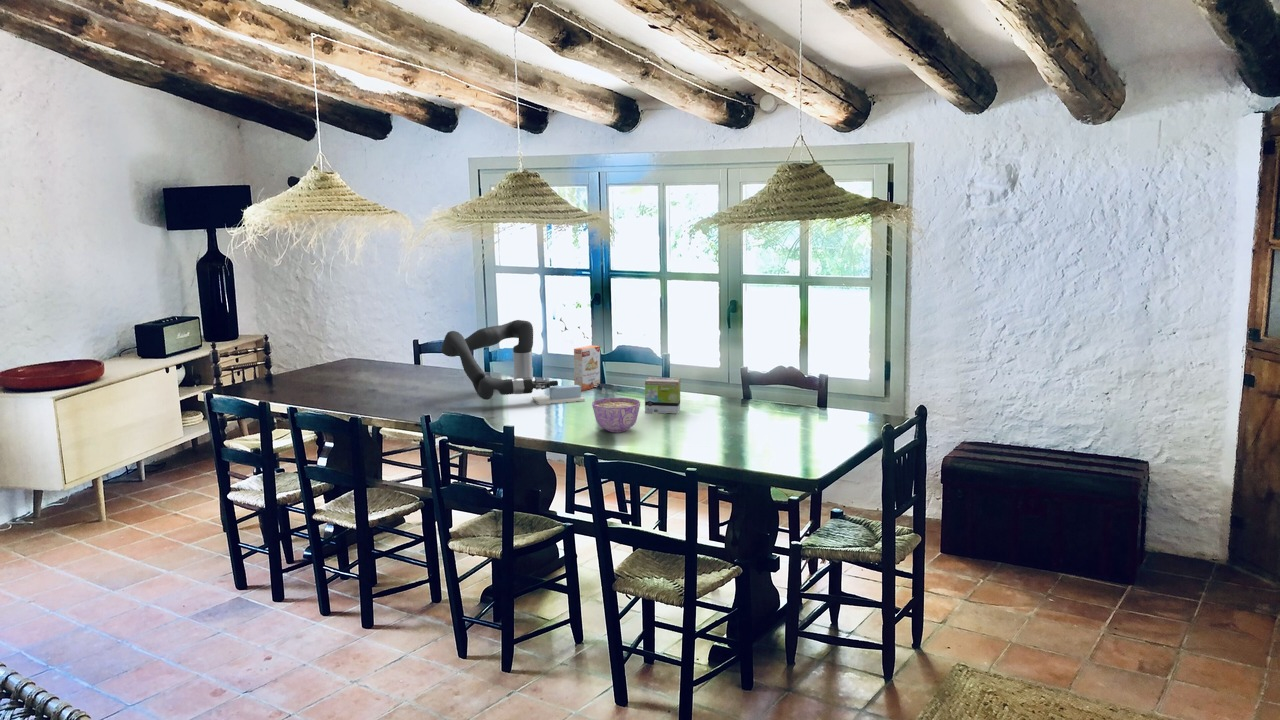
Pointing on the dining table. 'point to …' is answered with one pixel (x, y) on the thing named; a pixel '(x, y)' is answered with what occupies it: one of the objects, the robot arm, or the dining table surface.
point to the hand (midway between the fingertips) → (557, 383)
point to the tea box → (662, 395)
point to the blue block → (565, 391)
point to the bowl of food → (616, 413)
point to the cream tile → (555, 400)
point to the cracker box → (587, 366)
